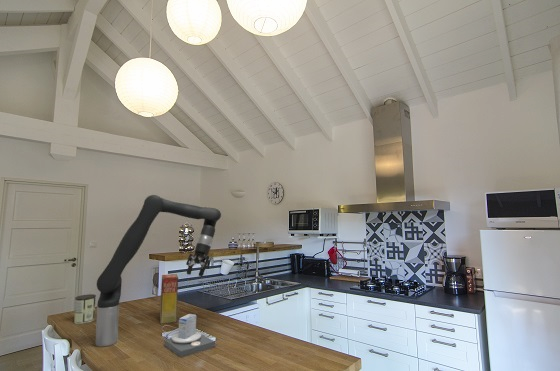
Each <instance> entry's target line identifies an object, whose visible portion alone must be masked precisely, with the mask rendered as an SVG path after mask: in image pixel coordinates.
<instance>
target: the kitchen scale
mask: <svg viewBox="0 0 560 371" xmlns="http://www.w3.org/2000/svg"><path fill="white" fill-rule="evenodd" d="M178 334H179V332H177V333H176V334H173V335H172V337H170V338H166V339H164V342H163V346H164V347H166V348H167V349H169V350H170V351H171V352H173V353H174V354H175V355H176V356H177V357H179V358H184V357H187V356H190V355H194V354H197V353H201V352H203V351H206V350H210V349H213V348H215V346H216V345H215V341H214V340H212V339H211V338H209V337H208V336H205V335H203V334H202V333H201V332H200V331H197V330H196V333H195V334H193V335H192V336H190V337H188V338H187V339H182V338H178Z"/></svg>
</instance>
